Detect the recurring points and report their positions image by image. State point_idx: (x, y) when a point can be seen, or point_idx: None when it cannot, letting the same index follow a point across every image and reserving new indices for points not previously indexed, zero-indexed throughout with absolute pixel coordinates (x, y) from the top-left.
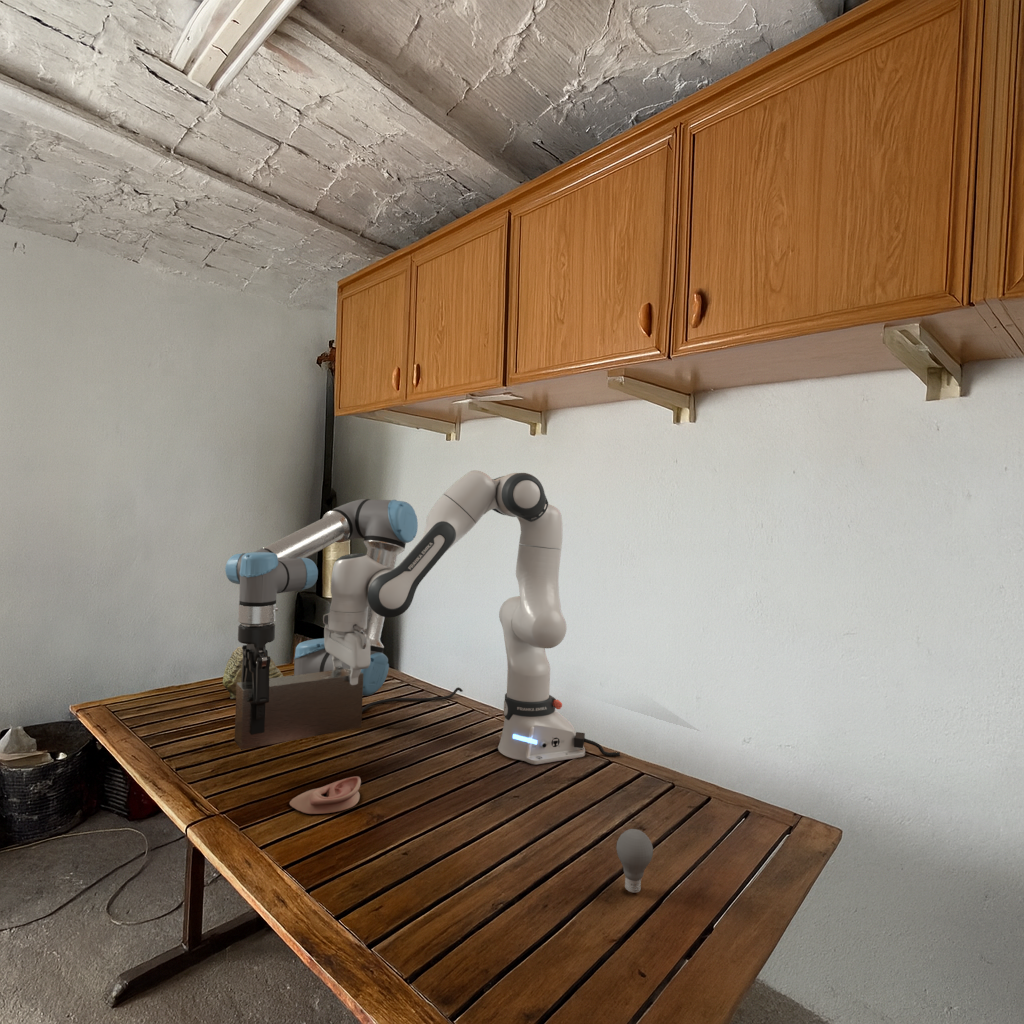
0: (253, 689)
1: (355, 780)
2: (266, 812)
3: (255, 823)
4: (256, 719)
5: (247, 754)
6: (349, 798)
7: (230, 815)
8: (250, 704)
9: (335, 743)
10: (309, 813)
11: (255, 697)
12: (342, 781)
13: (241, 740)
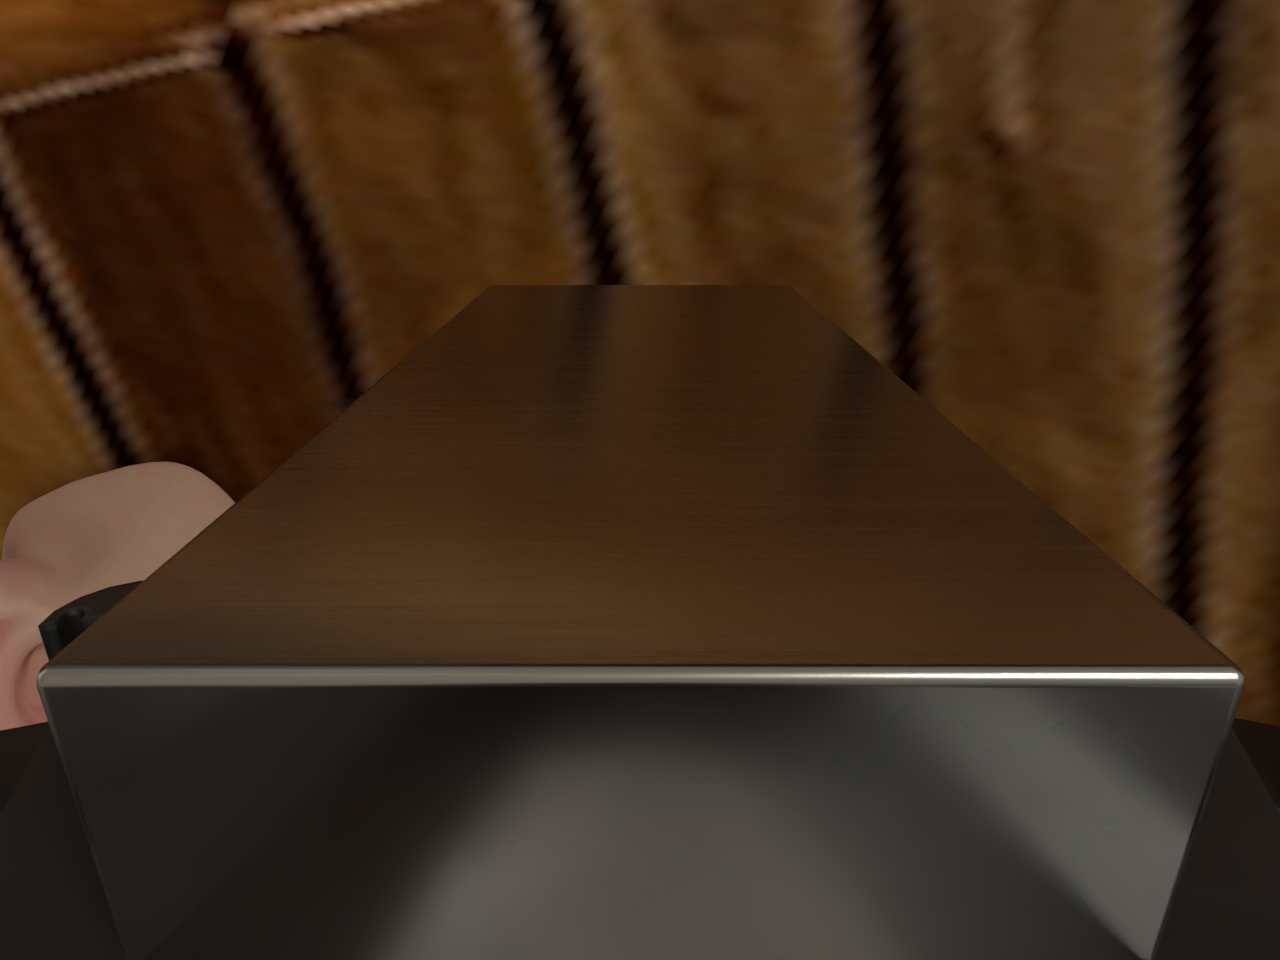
0: (17, 954)
1: None
2: (139, 316)
3: (5, 216)
4: None
5: (1119, 436)
6: None
7: (173, 92)
8: (110, 593)
9: None
10: (10, 523)
11: (24, 795)
12: None
13: (470, 303)
